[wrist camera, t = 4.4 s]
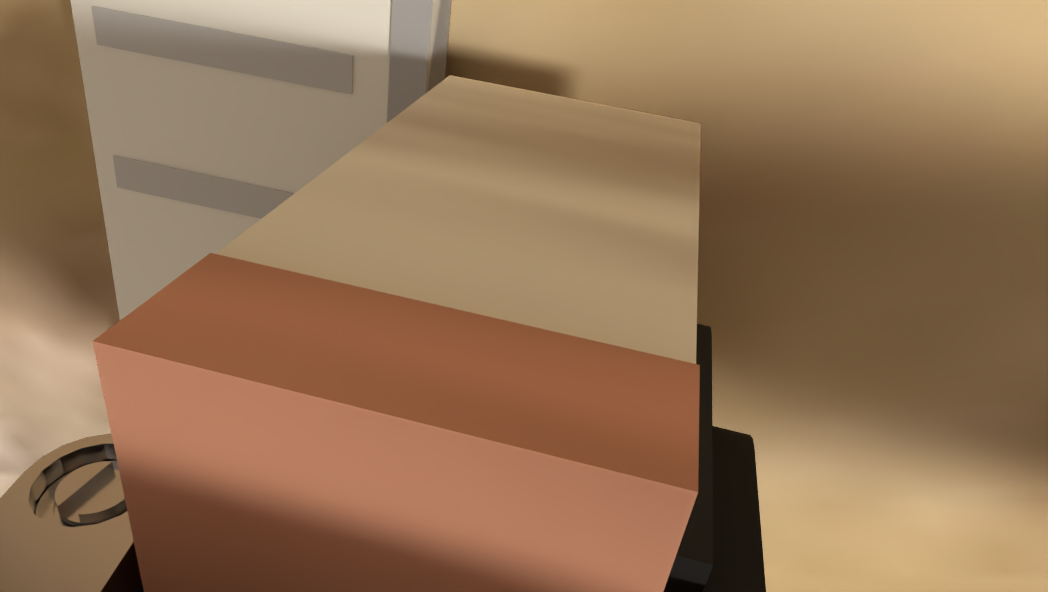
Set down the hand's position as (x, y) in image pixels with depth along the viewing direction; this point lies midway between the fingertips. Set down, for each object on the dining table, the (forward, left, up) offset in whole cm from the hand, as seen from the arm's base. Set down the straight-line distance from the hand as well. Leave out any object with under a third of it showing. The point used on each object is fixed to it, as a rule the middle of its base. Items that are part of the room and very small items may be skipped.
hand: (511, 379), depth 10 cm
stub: (0, 0, -2) cm, 2 cm away
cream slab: (+1, -5, -4) cm, 7 cm away
